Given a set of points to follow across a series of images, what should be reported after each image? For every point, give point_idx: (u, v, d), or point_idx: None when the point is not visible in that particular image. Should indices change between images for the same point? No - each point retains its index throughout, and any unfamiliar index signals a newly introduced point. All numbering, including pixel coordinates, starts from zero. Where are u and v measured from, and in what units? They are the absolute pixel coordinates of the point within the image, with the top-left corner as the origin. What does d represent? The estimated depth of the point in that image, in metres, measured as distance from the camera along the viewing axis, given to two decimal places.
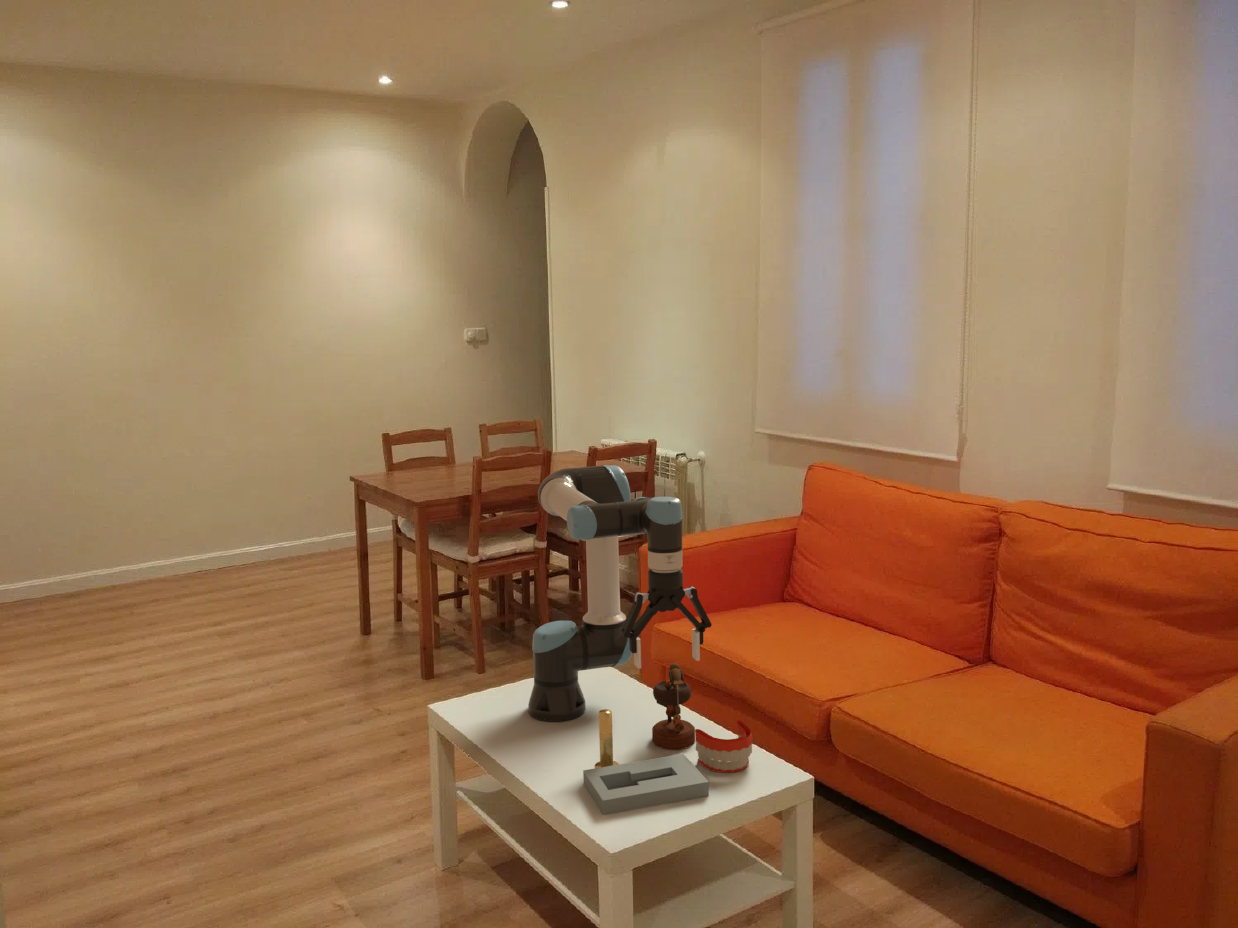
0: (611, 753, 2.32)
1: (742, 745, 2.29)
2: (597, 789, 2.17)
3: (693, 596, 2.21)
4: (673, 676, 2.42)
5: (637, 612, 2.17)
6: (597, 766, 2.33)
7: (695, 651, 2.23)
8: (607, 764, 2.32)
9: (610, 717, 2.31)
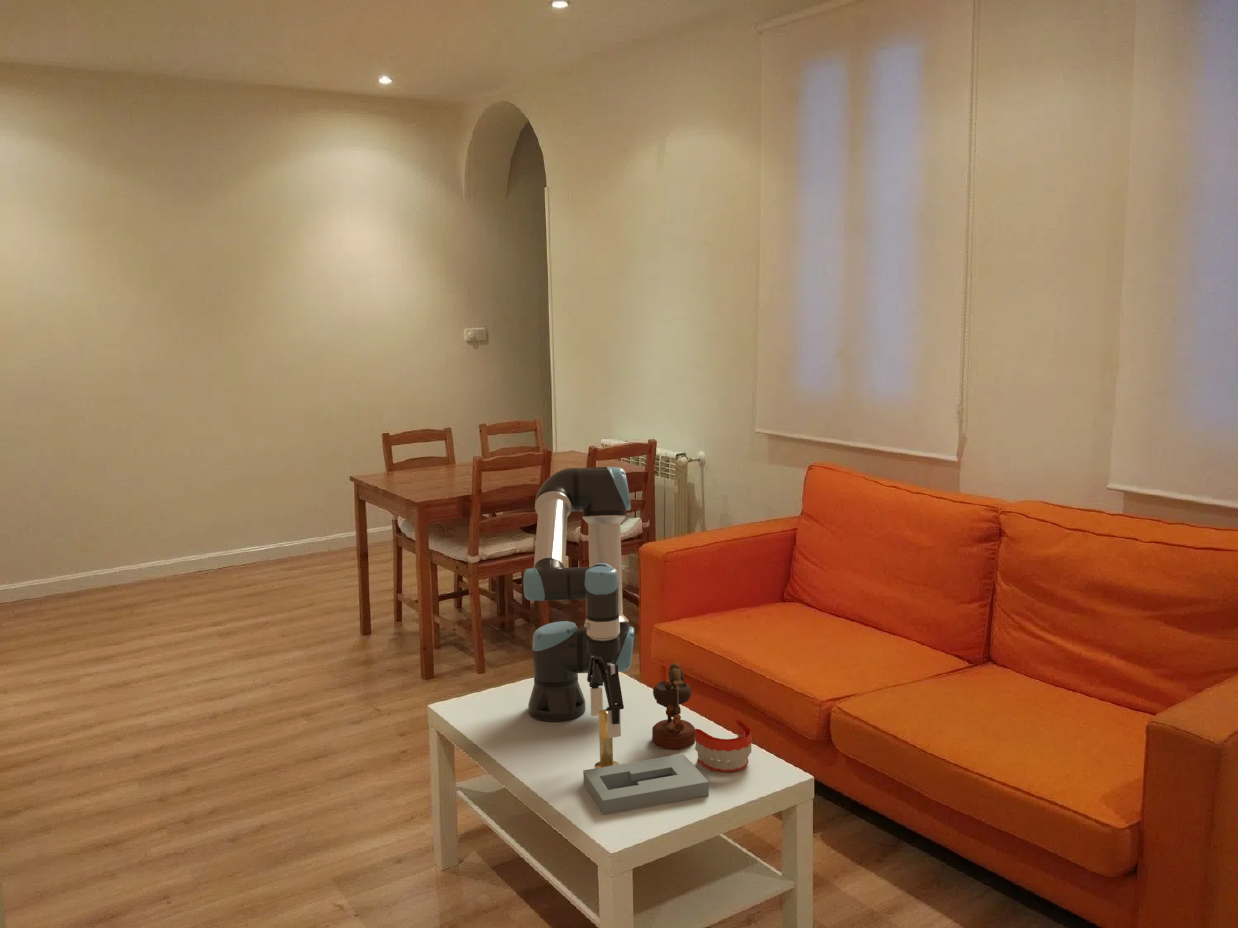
0: (611, 753, 2.32)
1: (741, 745, 2.29)
2: (597, 789, 2.17)
3: (606, 672, 2.24)
4: (673, 676, 2.42)
5: (590, 663, 2.36)
6: (597, 766, 2.33)
7: None
8: (607, 764, 2.32)
9: None
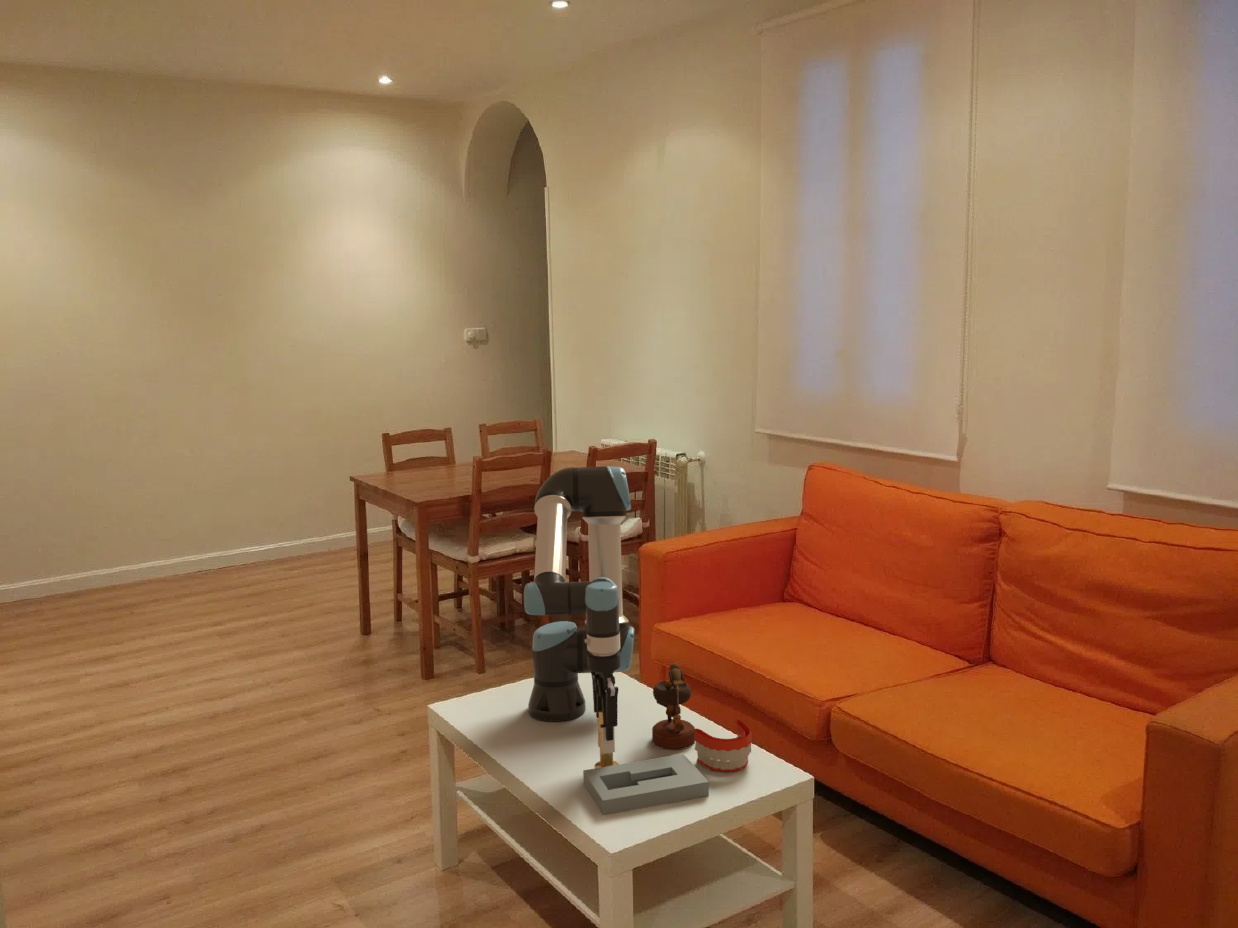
0: (611, 753, 2.32)
1: (741, 744, 2.29)
2: (597, 789, 2.17)
3: (606, 693, 2.25)
4: (673, 676, 2.42)
5: (593, 687, 2.35)
6: (597, 765, 2.33)
7: None
8: (607, 764, 2.32)
9: None
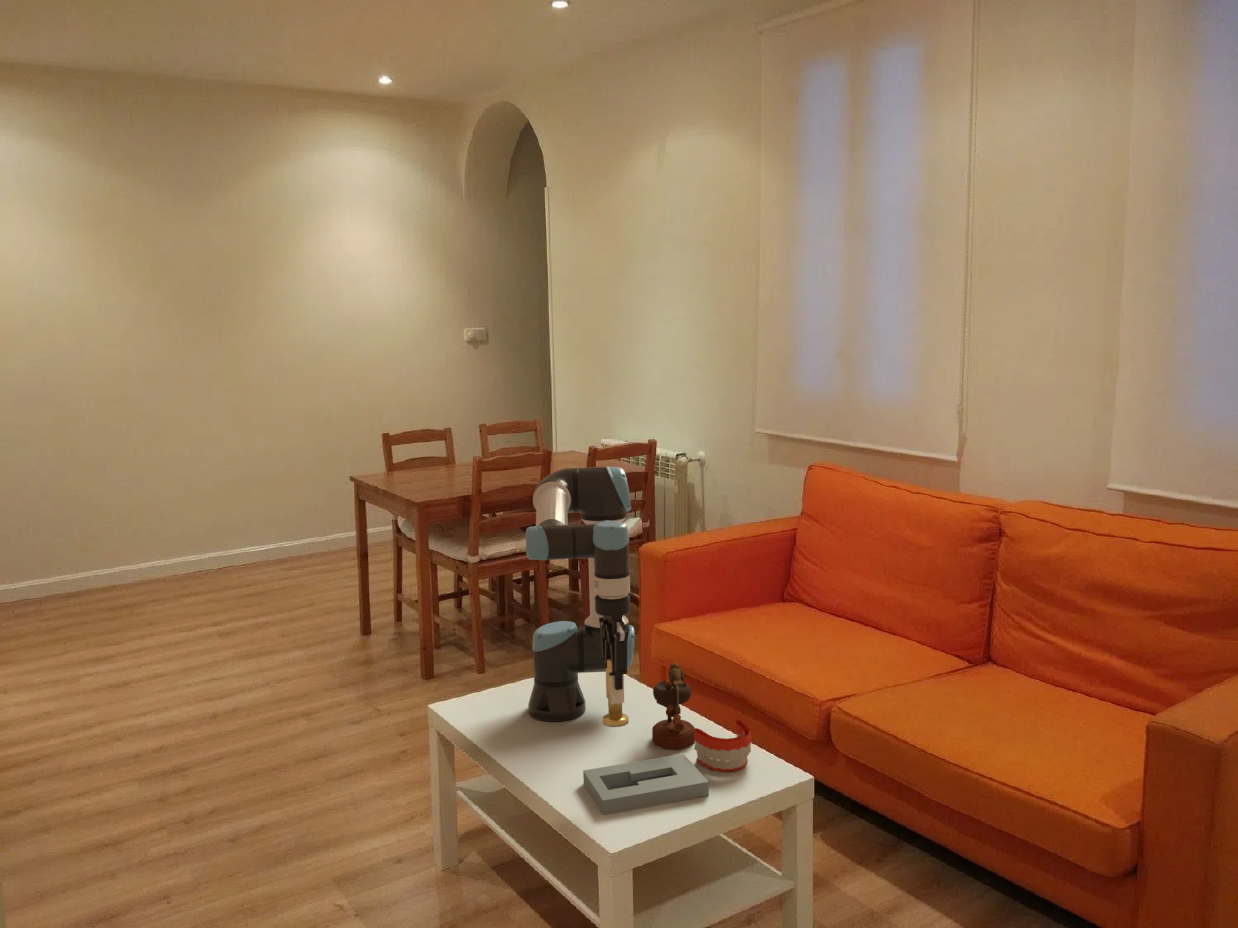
0: (620, 704, 2.19)
1: (741, 744, 2.30)
2: (597, 789, 2.17)
3: (615, 637, 2.12)
4: (673, 676, 2.42)
5: (601, 635, 2.22)
6: (606, 718, 2.20)
7: None
8: (616, 716, 2.18)
9: None
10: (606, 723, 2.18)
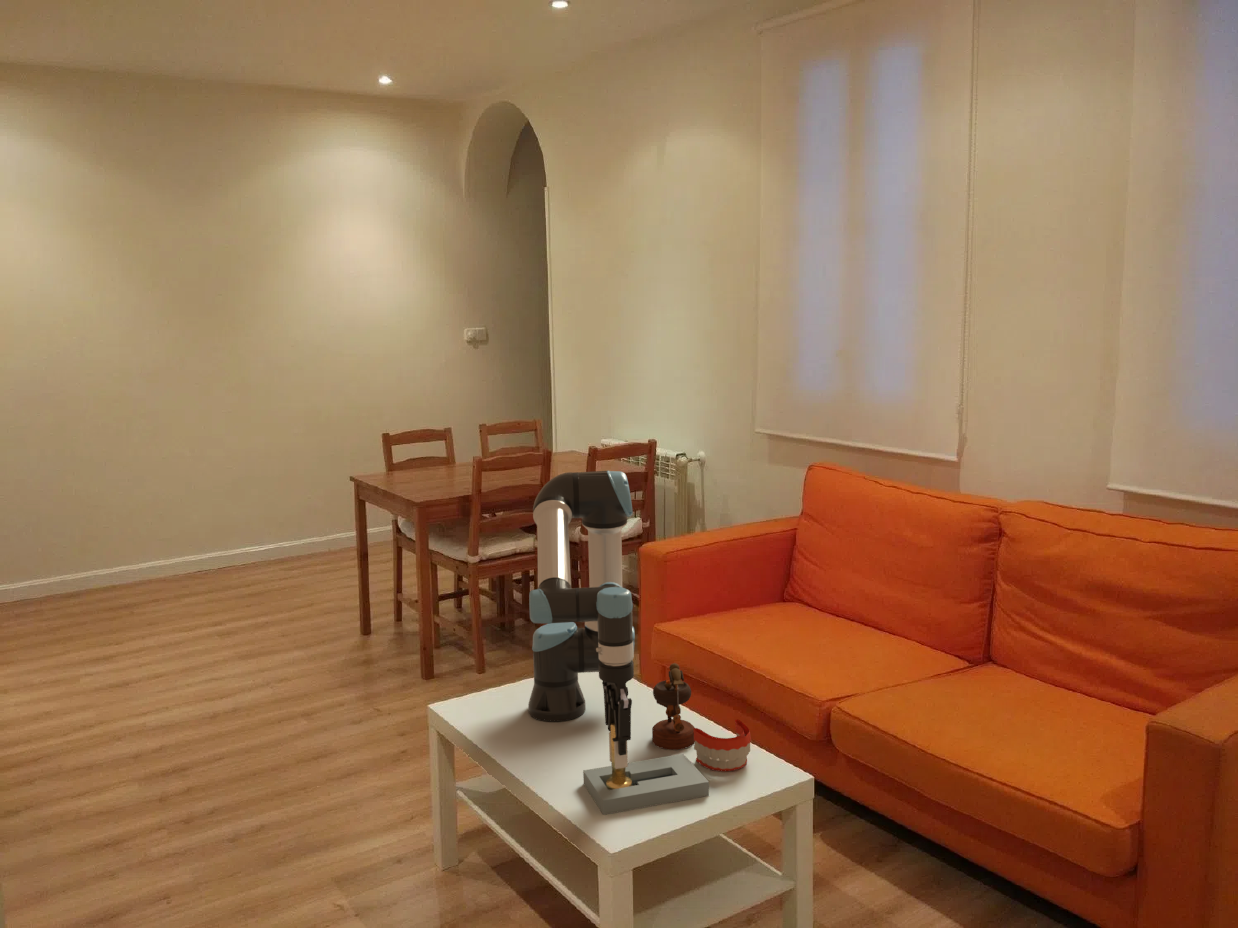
0: (624, 768, 2.20)
1: (740, 744, 2.30)
2: (597, 789, 2.17)
3: (619, 705, 2.13)
4: (673, 676, 2.42)
5: (605, 698, 2.23)
6: (609, 782, 2.21)
7: None
8: (619, 780, 2.20)
9: None
10: (610, 787, 2.19)
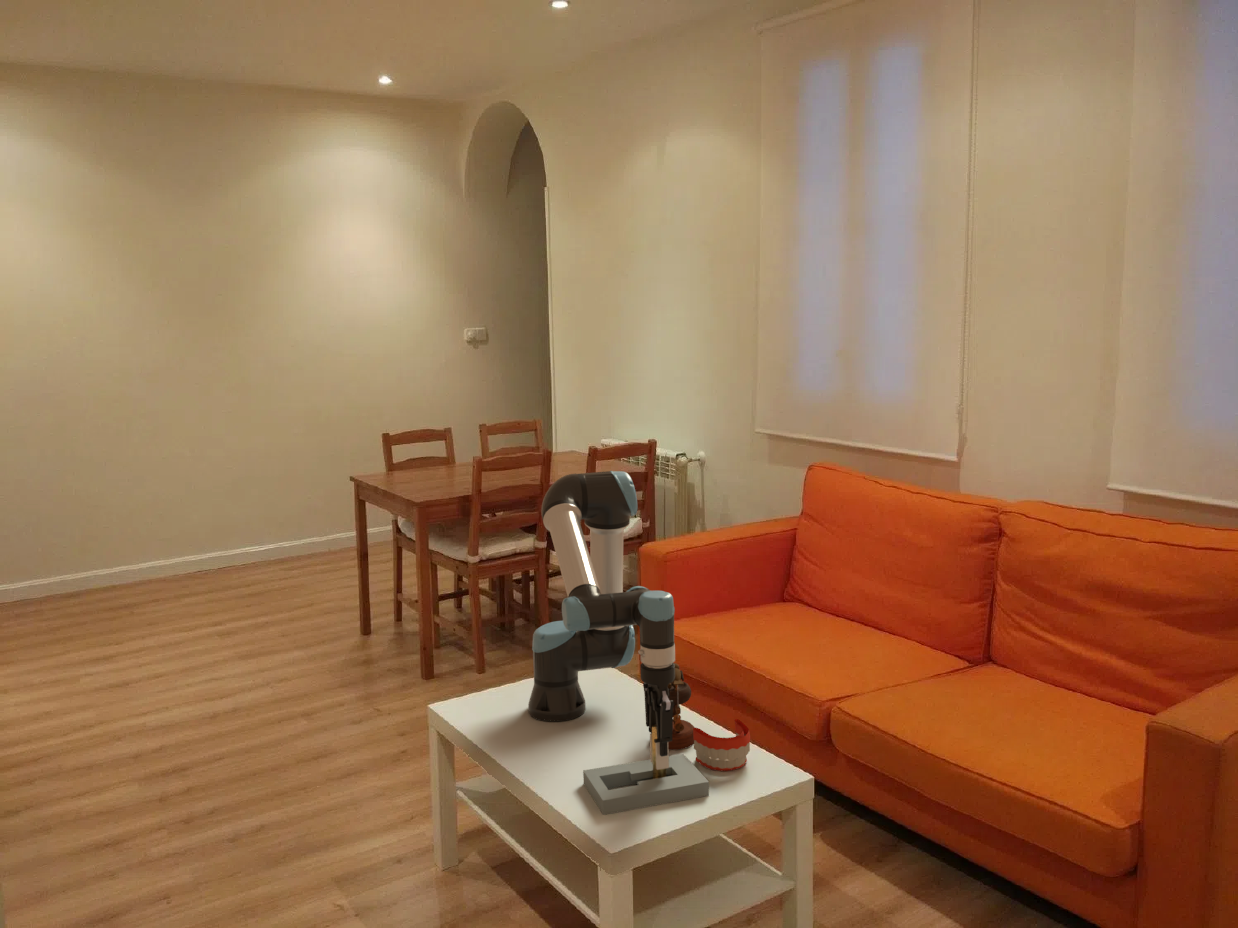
0: (664, 770, 2.23)
1: (740, 743, 2.30)
2: (597, 789, 2.17)
3: (661, 706, 2.16)
4: None
5: (645, 700, 2.26)
6: None
7: None
8: None
9: None
10: None
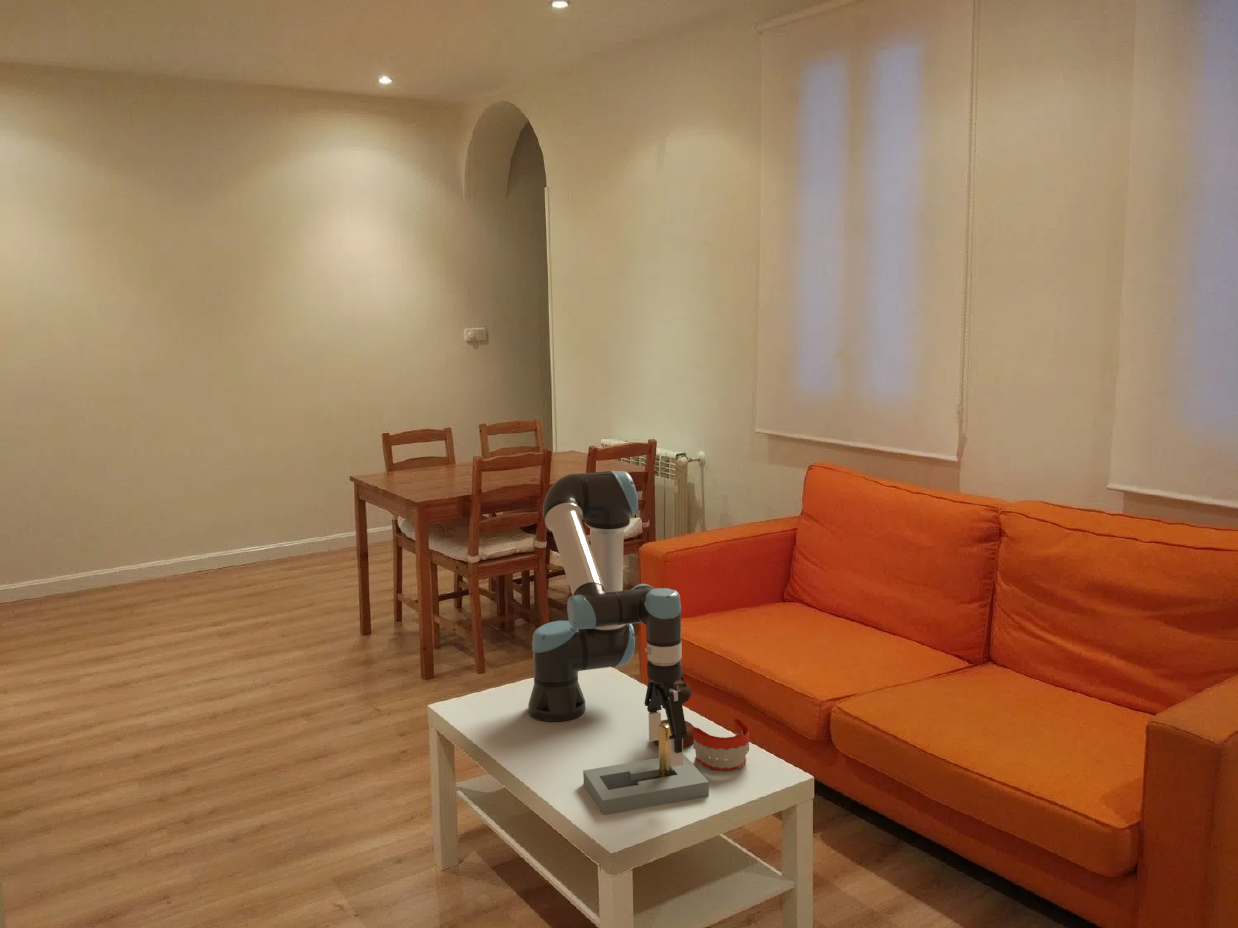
0: (671, 769, 2.23)
1: (739, 743, 2.30)
2: (597, 789, 2.17)
3: (669, 699, 2.16)
4: None
5: (648, 687, 2.28)
6: None
7: None
8: None
9: (670, 732, 2.22)
10: None
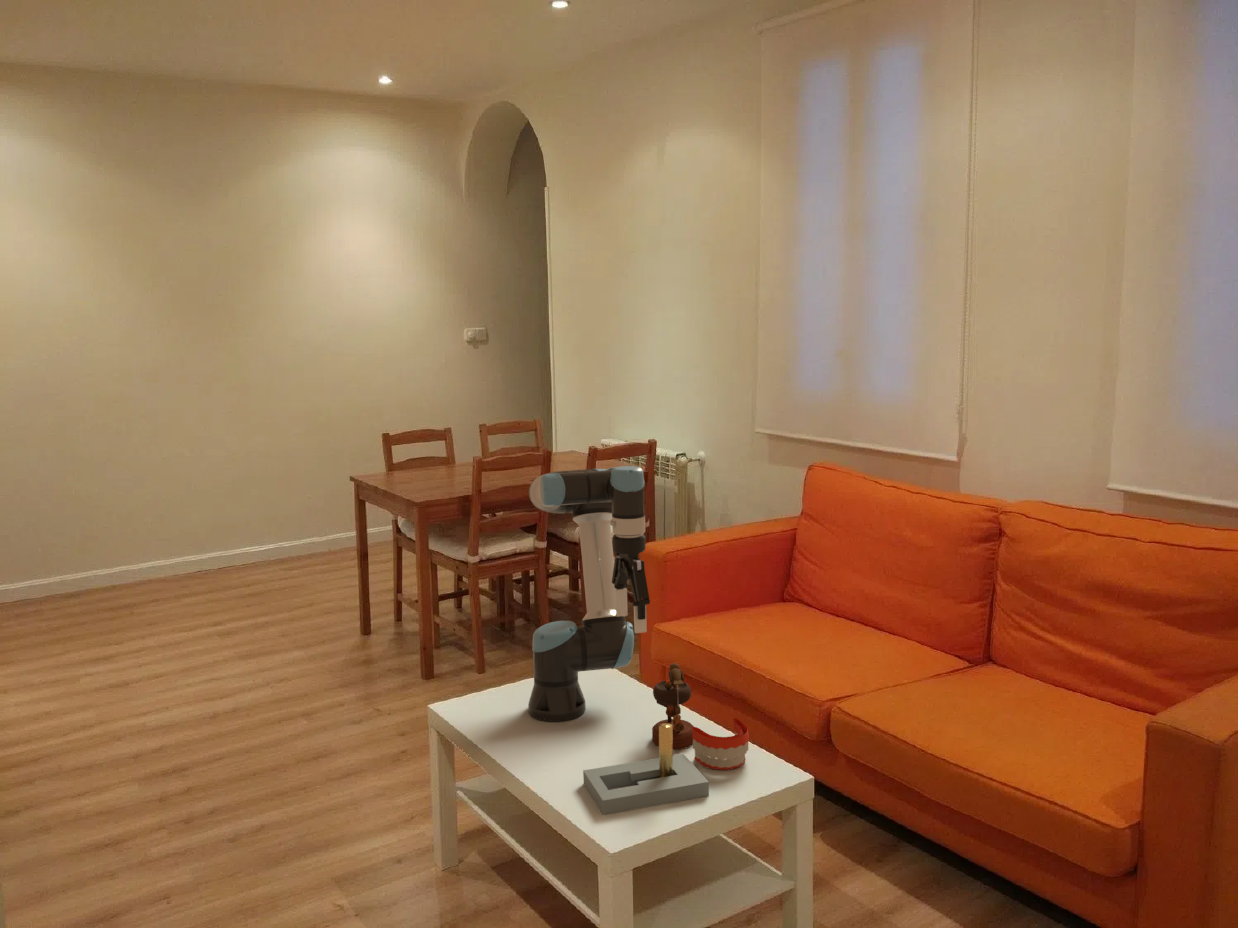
0: (671, 769, 2.23)
1: (738, 743, 2.30)
2: (597, 789, 2.17)
3: (633, 568, 2.27)
4: (673, 676, 2.42)
5: (615, 564, 2.39)
6: None
7: None
8: None
9: (671, 732, 2.22)
10: None
